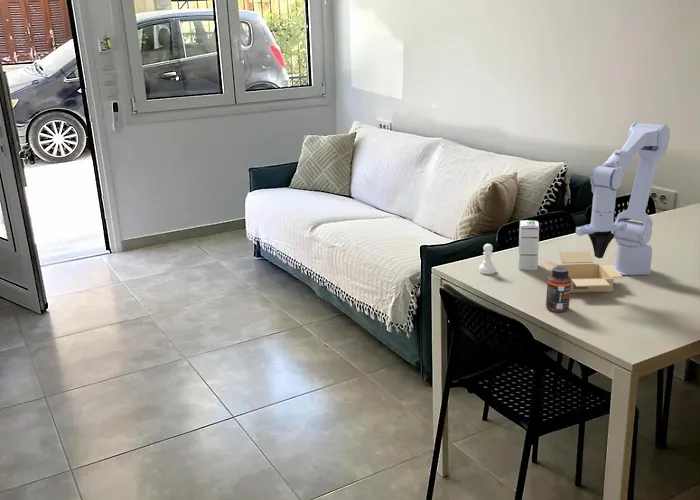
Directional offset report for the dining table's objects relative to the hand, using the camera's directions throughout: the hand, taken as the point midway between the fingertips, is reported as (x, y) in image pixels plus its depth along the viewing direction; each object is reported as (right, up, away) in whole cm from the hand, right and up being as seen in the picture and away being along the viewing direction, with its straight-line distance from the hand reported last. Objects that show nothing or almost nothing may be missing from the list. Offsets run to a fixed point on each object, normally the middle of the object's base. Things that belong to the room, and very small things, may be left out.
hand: (598, 256), depth 183 cm
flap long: (-9, -4, +6) cm, 12 cm away
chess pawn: (-27, -5, +20) cm, 34 cm away
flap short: (-2, -2, +11) cm, 11 cm away
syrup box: (-14, -4, +22) cm, 26 cm away
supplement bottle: (-14, -14, -7) cm, 21 cm away
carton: (-1, -9, +5) cm, 10 cm away
